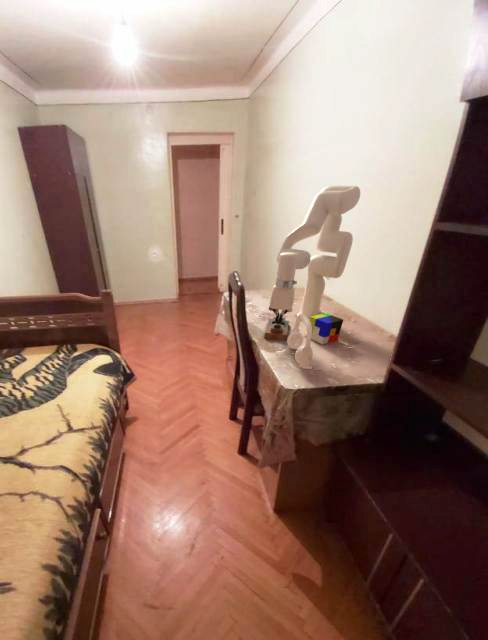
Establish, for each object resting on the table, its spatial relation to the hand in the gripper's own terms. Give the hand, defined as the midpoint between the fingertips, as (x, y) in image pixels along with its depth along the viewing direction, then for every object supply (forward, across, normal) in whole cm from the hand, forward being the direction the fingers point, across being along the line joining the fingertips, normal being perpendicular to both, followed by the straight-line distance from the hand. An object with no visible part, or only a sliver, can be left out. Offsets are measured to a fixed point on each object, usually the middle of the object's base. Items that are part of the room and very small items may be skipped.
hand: (278, 323), depth 150 cm
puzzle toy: (+6, -21, -2) cm, 22 cm away
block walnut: (+6, 0, 0) cm, 6 cm away
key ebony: (+2, 0, 0) cm, 2 cm away
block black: (+6, 0, -11) cm, 13 cm away
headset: (+6, -10, +23) cm, 26 cm away
